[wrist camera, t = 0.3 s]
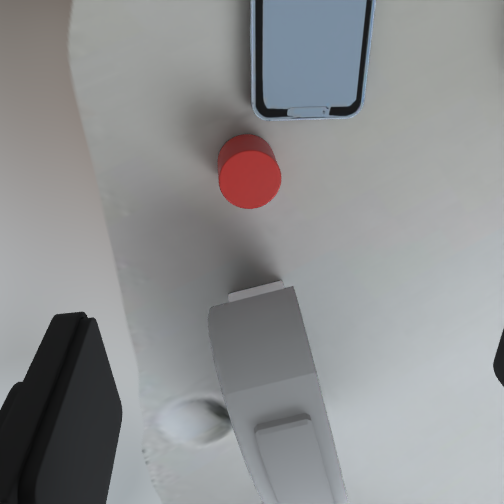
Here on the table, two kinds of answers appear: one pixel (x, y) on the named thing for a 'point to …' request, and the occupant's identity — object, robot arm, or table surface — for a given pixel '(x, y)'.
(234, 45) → the table surface
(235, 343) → the alarm clock
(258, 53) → the smartphone
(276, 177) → the red cylinder
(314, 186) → the table surface
